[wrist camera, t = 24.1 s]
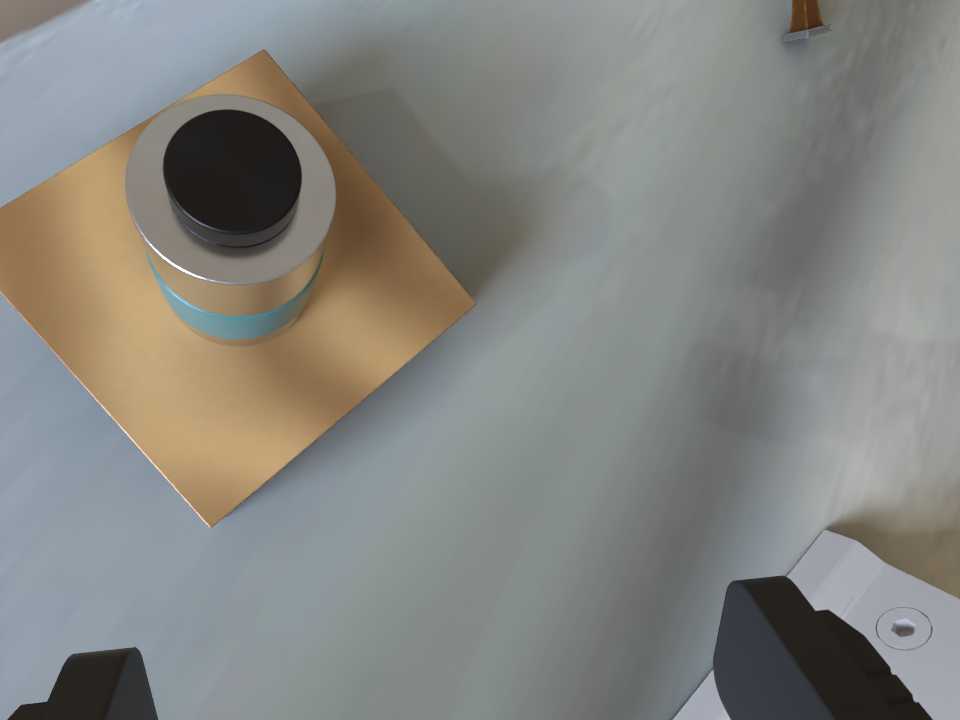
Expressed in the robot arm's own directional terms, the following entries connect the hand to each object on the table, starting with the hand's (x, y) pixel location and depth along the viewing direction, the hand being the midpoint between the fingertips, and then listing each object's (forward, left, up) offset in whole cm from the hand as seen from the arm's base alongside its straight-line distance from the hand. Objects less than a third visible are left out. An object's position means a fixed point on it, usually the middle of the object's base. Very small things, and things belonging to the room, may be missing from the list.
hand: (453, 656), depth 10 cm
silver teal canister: (-4, -9, -15) cm, 18 cm away
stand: (-4, -9, -20) cm, 23 cm away
